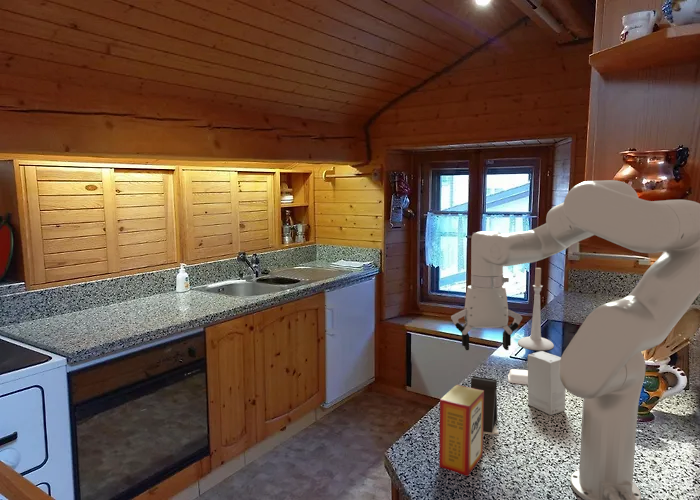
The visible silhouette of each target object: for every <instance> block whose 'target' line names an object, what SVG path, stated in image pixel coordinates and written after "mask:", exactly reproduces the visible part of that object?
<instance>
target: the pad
mask: <svg viewBox="0 0 700 500" xmlns="http://www.w3.org/2000/svg"><path fill="white" fill-rule="evenodd" d="M483 435H499V430H498V428H497V425H495V426H494V429H493V432H492V433H490V432H485V431H483Z"/></svg>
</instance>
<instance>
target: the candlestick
mask: <svg viewBox="0 0 700 500" xmlns="http://www.w3.org/2000/svg"><path fill="white" fill-rule="evenodd" d="M534 273H535V277H534V284H533V285H532V287H533V291H534V295H533V296H534V297H533V299H534V300H533V306H532V307H533V309H532V320H531V321H532V322H531V330H530V335H529V336H523V337H521V338H520V339H518V340H517V345H518V346H519V347H521V348H523V349H526V350H531V351H549V350H552V349H553V348H554V347H555V346H554V343H553V342H552V341H551V340H550V339H547V338H545V337H542V333H541V332H542V327H541V324H542V323H541V320H542V319H541V295H540V293H541V291H542V288H543V286H544V285H542V284H541V282H542V268H541V267H535V272H534Z"/></svg>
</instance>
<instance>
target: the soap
mask: <svg viewBox="0 0 700 500" xmlns="http://www.w3.org/2000/svg"><path fill="white" fill-rule="evenodd" d="M507 380H508V383H510V384H517V385H518V384H519V385H527V386H528V369H515V368H511V369H509V372H508V375H507Z"/></svg>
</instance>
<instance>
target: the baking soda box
mask: <svg viewBox="0 0 700 500" xmlns="http://www.w3.org/2000/svg"><path fill="white" fill-rule="evenodd" d="M483 421H484V390H479V389H475V388H471V386H470V387H469V386H465V385H461V384H455V385H454V386H453V387H452V388H451V389H449V391H448V392H447V393H445V394H444V395H443V396H442V397H440V399H439V460H438V461H439V465H438V466H439V468H442V469H444V470H448V471H451V472H453V473H457V474H460V475H463V476H466V477H468V476H470V474H471V472H472V471H473V470H474V468H475V467H476V466H477V464H478V463H479V461H480V460H481V459H482V457H483V456H484V434H483Z"/></svg>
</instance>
